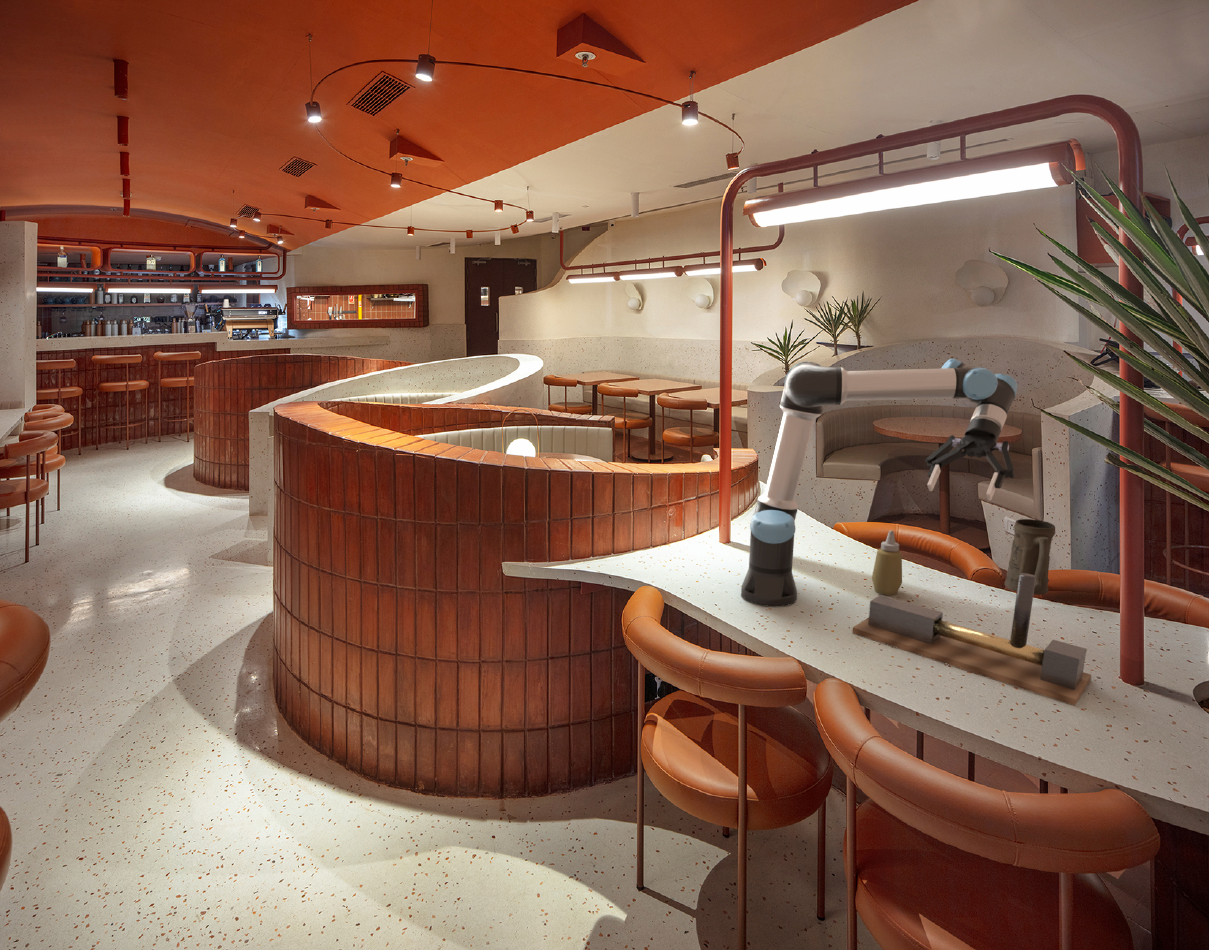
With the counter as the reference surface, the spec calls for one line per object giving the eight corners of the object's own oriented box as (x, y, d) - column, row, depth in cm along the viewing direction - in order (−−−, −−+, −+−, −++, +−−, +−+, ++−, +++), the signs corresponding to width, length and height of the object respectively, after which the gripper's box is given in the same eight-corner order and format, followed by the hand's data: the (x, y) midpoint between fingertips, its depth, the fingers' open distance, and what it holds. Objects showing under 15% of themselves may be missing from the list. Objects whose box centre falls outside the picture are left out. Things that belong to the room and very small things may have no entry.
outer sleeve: (868, 624, 166) (870, 600, 165) (878, 618, 170) (880, 594, 169) (931, 644, 156) (934, 619, 155) (940, 637, 160) (943, 612, 159)
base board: (852, 633, 165) (852, 627, 165) (876, 616, 175) (877, 611, 175) (1074, 705, 133) (1076, 698, 133) (1090, 680, 143) (1091, 674, 142)
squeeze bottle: (904, 598, 187) (910, 536, 184) (873, 596, 189) (878, 534, 185) (897, 587, 195) (903, 527, 191) (868, 585, 197) (873, 526, 193)
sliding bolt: (927, 633, 157) (935, 557, 154) (932, 629, 160) (941, 554, 156) (1063, 674, 139) (1076, 589, 135) (1067, 669, 141) (1080, 584, 137)
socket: (1040, 679, 140) (1044, 649, 139) (1048, 668, 145) (1052, 639, 143) (1074, 690, 136) (1079, 659, 135) (1081, 678, 141) (1086, 648, 139)
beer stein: (996, 579, 202) (1007, 516, 196) (1034, 581, 201) (1045, 517, 195) (1022, 603, 187) (1034, 535, 182) (1063, 604, 186) (1076, 536, 181)
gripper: (1042, 441, 167) (1017, 510, 160) (937, 430, 184) (910, 492, 177) (1039, 421, 162) (1013, 492, 155) (932, 412, 180) (903, 475, 172)
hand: (958, 492), depth 166 cm, fingers open, 13 cm apart
